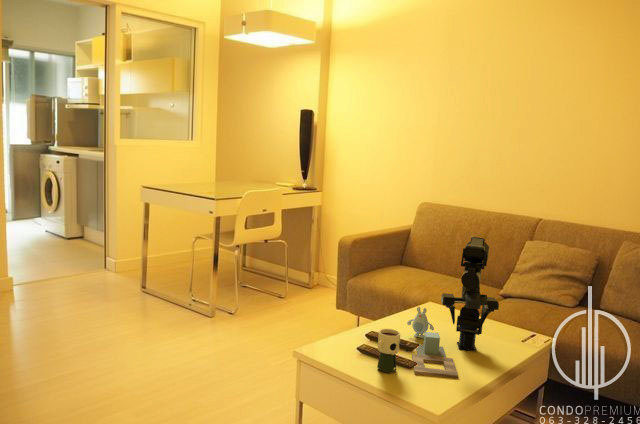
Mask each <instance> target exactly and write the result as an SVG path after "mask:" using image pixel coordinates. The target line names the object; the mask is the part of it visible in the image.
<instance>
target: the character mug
mask: <svg viewBox="0 0 640 424" xmlns="http://www.w3.org/2000/svg"><path fill="white" fill-rule="evenodd" d="M400 342H401V332H400V331H399V330H397V329H393V328H382V329H379V330H378V339H377V351H379V352H380V353H379V356H378V361H377V366H376V367H377V369H378V370H380V371H382V372H384V373H394V372H395V371H397V355H396V354H398V353H399V352H400Z"/></svg>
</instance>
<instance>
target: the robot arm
mask: <svg viewBox="0 0 640 424" xmlns="http://www.w3.org/2000/svg"><path fill="white" fill-rule="evenodd" d="M489 255H490V246H489V245H488V244H487V242H486V239H485V238H484V237H478V236H472V237H470V241H469V242H468V243H466V245H465V247H463V248H462V255H461V261H460V267H464V268H463V273H462V275H461V280H460V281H461V284H462V288H461V296H460V297H457V296H455V295H454V294H453V293H446V292H444V293H443V292H442V294H441V297H440V298H441V299H440V302H441V303H442V305H443V306H445V308H447V309H449V312H450V316H451V321H452V324H453V325H455V323H456V328H455V331H456V332H459V339H458V340H459V341H456V345H457V348H458V349H459V350H462V351H470V352H471V351H473V352H477V350H478V349H477V347H476V338H477V337H476V336H477V335H478V336H480V335H482V334H483V332H482V331H483V325H484V323H485V321H486V320H487V317H489V315H490V313H493V312H495V311H498V310H500V309H499V308H500V304H499V301H498V300H497V298H496V297H491V296H488V295H487V294H481V287H480V286H481V277H482V270H485V268H486V267H487V264H488V260H489ZM455 304H463V307H461V308H460V311H459V315H457V317H456V307H455ZM481 306H482V307H481ZM480 309H481V313H480V311H479V310H480Z"/></svg>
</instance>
